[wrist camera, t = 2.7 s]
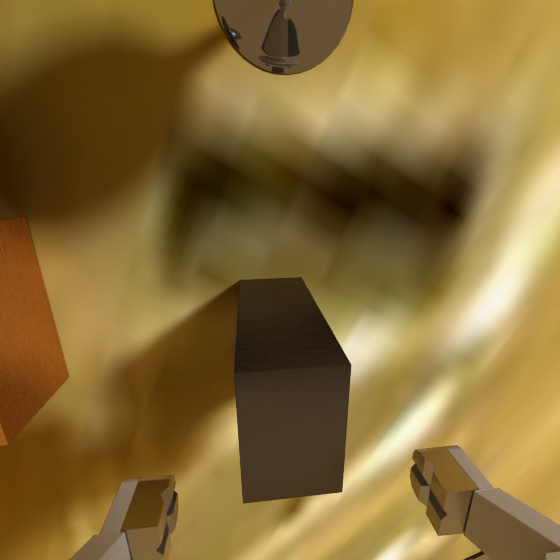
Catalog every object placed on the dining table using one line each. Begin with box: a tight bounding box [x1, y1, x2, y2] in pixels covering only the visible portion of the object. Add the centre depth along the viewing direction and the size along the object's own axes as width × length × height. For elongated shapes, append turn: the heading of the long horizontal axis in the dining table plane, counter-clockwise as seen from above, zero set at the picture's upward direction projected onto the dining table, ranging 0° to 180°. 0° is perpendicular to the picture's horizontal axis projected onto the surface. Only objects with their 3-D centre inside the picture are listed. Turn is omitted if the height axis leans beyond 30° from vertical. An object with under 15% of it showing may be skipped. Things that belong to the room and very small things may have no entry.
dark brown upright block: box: [234, 277, 351, 503], centre depth 16 cm, size 6×4×10 cm, turn 1°
